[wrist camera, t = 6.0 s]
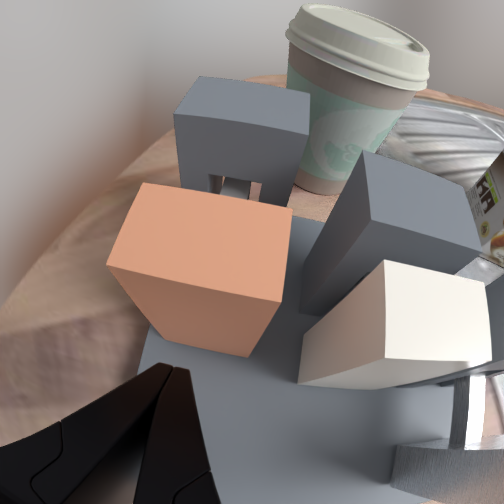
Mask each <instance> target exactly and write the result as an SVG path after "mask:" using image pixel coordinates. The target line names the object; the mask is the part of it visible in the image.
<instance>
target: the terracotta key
mask: <svg viewBox="0 0 504 504" xmlns="http://www.w3.org/2000/svg"><path fill="white" fill-rule="evenodd" d="M250 187H251V181H246V180H241V179H235V178H230V177H225V180H224V183H223V186H222V189H221V192H220V195H218V194H213V193H207V192H201V191H195V190H189V189H183V188H177V187H170V186H164V185H157V184H150V183H143V184H142V185H141V187H140V189H139V191H138V193H137V196H136V198H135V200H134V202H133V204H132V206H131V208H130V210H129V212H128V214H127V217H126V219H125V221H124V223H123V225H122V228H121V230H120V232H119V234H118V237H117V239H116V241H115V244H114V246H113V248H112V251H111V253H110V256H109V258H108V261H107V263H106V265H107V267H108V268H109V270H110V271H111V272H112V274H113V275H114V277H115V278H116V279H117V281H118V282H119V283H120V285H121V286H122V287H123V289H124V290H125V291H126V293H127V294H128V295H129V297H130V298H131V299H132V300H133V302H134V303H135V304H136V305H137V307H138V308H139V309H140V310H141V312H142V313H143V314H144V315H145V317H146V318H147V319H148V320H149V322H150V323H151V324H152V325H153V326H154V328H155V329H156V330H157V331H158V332H159V333H160V335H161V336H162V337H163V338H164V339H165V340H168V341H172V342H176V343H180V344H184V345H189V346H193V347H197V348H202V349H206V350H211V351H216V352H221V353H226V354H231V355H236V356H241V357H247V358H248V357H249V355H250V354H251V352H252V350H253V349H254V347H255V345H256V344H257V342H258V341H259V339H260V337H261V336H262V334H263V332H264V331H265V329H266V327H267V326H268V324H269V322H270V321H271V319H272V317H273V316H274V314H275V312H276V311H277V309H278V307H279V306H280V304H281V302H282V294H283V287H284V279H285V271H286V263H287V255H288V247H289V238H290V229H291V220H292V211H293V209H291V208H286V207H281V206H276V205H271V204H266V203H261V202H256V201H251V200H248V199H249V194H250Z"/></svg>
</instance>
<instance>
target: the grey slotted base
mask: <svg viewBox="0 0 504 504" xmlns="http://www.w3.org/2000/svg"><path fill="white" fill-rule="evenodd" d="M173 115H174V126H175V136H176V146H177V155H178V164H179V172H180V180H181V188H183V189H189V190H195V191H201V192H207V193H213V194H218V195H220V192H221V189H222V178H223V176H224V177H230V178H235V179H241V180H246V181H252V182H257V183H262V186H261V191H260V196H259V202H261V203H266V204H271V205H276V206H281V207H286V206H287V203H288V200H289V197H290V194H291V191H292V188H293V184H294V181H295V178H296V175H297V172H298V169H299V165H300V162H301V159H302V156H303V153H304V149H305V146H306V143H307V140H308V136H309V118H310V94H309V93H305V92H301V91H296V90H291V89H286V88H281V87H276V86H271V85H265V84H259V83H253V82H246V81H239V80H232V79H223V78H214V77H203V76H199V77H198V79H197V80H196V82H195V83H194V84H193V86H192V87H191V88H190V90H189V91H188V93H187V94H186V96H185V97H184V98H183V100H182V101H181V103H180V104H179V106H178V108H177V109H176V111H175V112H174V113H173ZM482 252H483V251H482V247H481V243H480V239H479V236H478V232H477V228H476V225H475V221H474V218H473V215H472V212H471V209H470V205H469V202H468V199H467V197H466V194H465V191H464V188H463V186H461V185H458V184H456V183H454V182H451V181H449V180H447V179H444V178H442V177H439V176H437V175H434V174H432V173H429V172H427V171H424V170H421V169H419V168H416V167H413V166H411V165H408V164H405V163H402V162H399V161H397V160H394V159H391V158H388V157H385V156H382V155H378V154H375V153H372V152H369V151H366V150H362V152H361V154H360V156H359V158H358V160H357V162H356V164H355V166H354V168H353V170H352V172H351V174H350V176H349V178H348V180H347V182H346V184H345V186H344V188H343V190H342V192H341V194H340V196H339V198H338V200H337V202H336V204H335V206H334V208H333V209H332V211H331V213H330V215H329V217H328V219H327V221H326V223H324V222H319V221H315V220H310V219H306V218H301V217H296V216H292V220H291V229H290V238H289V247H288V255H287V263H286V271H285V279H284V287H283V294H282V302H281V304H280V306H279V307H278V309H277V311H276V312H275V314H274V316H273V317H272V319H271V321H270V322H269V324H268V326H267V327H266V329H265V331H264V332H263V334H262V336H261V337H260V339H259V341H258V342H257V344H256V345H255V347H254V349H253V350H252V352H251V354H250V355H249V357H248V358H247V357H241V356H236V355H231V354H226V353H221V352H216V351H211V350H206V349H202V348H197V347H193V346H189V345H184V344H180V343H176V342H172V341H168V340H165V339H164V338H163V337H162V336H161V335H160V333H159V332H158V331H157V330H156V329H155V328H154V326H153V325H152V324H151V323H150V326H149V330H148V334H147V337H146V341H145V345H144V349H143V353H142V357H141V360H140V365H139V369H138V373H137V375H138V374H140V373H142V372H143V371H145V370H146V369H148V368H150V367H151V366H153V365H154V364H156V363H158V362H162V363H166V364H169V365H172V366H173V367H176V366H178V367H182V368H186V369H189V370H190V373H191V378H192V384H193V389H194V395H195V400H196V405H197V410H198V415H199V419H200V424H201V429H202V433H203V438H204V442H205V446H206V451H207V455H208V459H209V463H210V467H211V472H212V474H213V478H214V482H215V485H216V488H217V492H218V495H219V498H220V501H221V504H419V503H423V502H427V501H430V499H427V498H423V497H420V496H416V495H413V494H410V493H407V492H404V491H401V490H398V489H395V488H392V487H389V486H390V481H391V477H392V472H393V467H394V461H395V455H396V449H397V445H402V444H411V443H418V442H426V441H432V440H438V439H444V438H449V437H450V431H451V421H452V410H453V395H454V379H456V378H460V377H464V376H468V375H471V374H475V373H478V372H482V371H485V379H486V378H490V377H494V376H497V375H500V374H504V275H502V276H501V277H499V278H498V279H496V280H495V281H493V282H492V283H490V284H489V285H487V286H486V287H485V292H486V299H487V306H488V314H489V323H490V335H491V350H492V361H489V362H486V363H483V364H480V365H477V366H474V367H470V368H467V369H464V370H460V371H457V372H453V373H450V374H446V375H442V376H438V377H434V378H430V379H426V380H422V381H417V382H413V383H408V384H403V385H398V386H393V387H387V388H382V389H376V390H359V389H342V388H329V387H318V386H308V385H299V384H297V382H298V375H299V368H300V360H301V352H302V344H303V336H304V334H305V333H306V332H307V331H308V330H310V329H311V328H312V327H313V326H314V325H315V324H316V323H318V322H319V321H320V320H321V319H322V318H323V317H324V316H325V315H327V314H328V313H329V312H330V311H331V310H332V309H333V308H334V307H335V306H336V305H338V304H339V303H340V302H341V301H342V300H343V299H344V298H345V297H346V296H347V295H348V294H349V293H350V292H351V291H352V290H353V286H354V285H355V284H356V283H357V282H358V281H359V280H360V279H361V278H362V277H363V276H364V275H365V274H366V273H367V272H372V271H373V270H374V269H375V268H376V267H377V266H378V265H379V264H380V263H381V262H382V261H383V260H389V261H393V262H398V263H402V264H407V265H411V266H416V267H420V268H424V269H429V270H433V271H437V272H442V273H446V274H450V275H454V274H455V273H457V272H458V271H459V270H461V269H462V268H463V267H465V266H466V265H467V264H469V263H470V262H471V261H472V260H474V259H475V258H476V257H478V256H479V255H480V254H481V253H482Z"/></svg>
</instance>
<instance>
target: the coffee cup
mask: <svg viewBox="0 0 504 504" xmlns="http://www.w3.org/2000/svg"><path fill="white" fill-rule="evenodd" d="M285 35H286V37H287V39H288V40H289V41H290V44H289V58H288V72H287V86H286V89H291V90H296V91H301V92H305V93H309V94H310V118H309V136H308V140H307V143H306V146H305V149H304V153H303V156H302V159H301V162H300V165H299V169H298V172H297V175H296V178H295V181H294V183H295V184H296V185H298V186H299V187H301V188H303V189H305V190H307V191H309V192H312V193H316V194H320V195H336V194H340V193H341V192H342V190H343V188H344V186H345V184H346V182H347V180H348V178H349V176H350V174H351V172H352V170H353V168H354V166H355V164H356V162H357V160H358V158H359V156H360V154H361V152H362V150H366V151H369V152H372V153H375V152H376V150H377V149H378V147H379V146H380V145H381V143H382V142H383V140H384V139H385V138H386V136H387V135H388V133H389V132H390V130H391V129H392V128H393V126H394V125H395V123H396V122H397V120H398V119H399V118H400V116H401V115H402V113H403V112H404V110H405V109H406V107H407V106H408V104H409V103H410V101H411V100H412V98H413V97H414V95H415V94H416V92H417V91H420V90H424V89H425V88H426V87H427V82H426V81H427V79H428V78H429V71H428V66H429V58H430V54H429V52H428V50H427V49H426V48H425V47H424V46H423V45H422V44H421V43H419V42H418V41H417V40H415V39H414V38H413V37H411V36H409V35H408V34H406V33H404V32H403V31H401V30H399V29H397V28H395V27H393V26H391V25H389V24H387V23H385V22H383V21H381V20H378V19H376V18H373V17H371V16H368V15H365V14H363V13H360V12H356V11H353V10H350V9H346V8H342V7H337V6H333V5H326V4H318V3H308V4H304V5H302V6H301V8H300V9H299V12H298V13H297V15H296V17H295V18H294V19H293V20H291V21H290V23H289V29H287V31H286V33H285Z"/></svg>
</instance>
